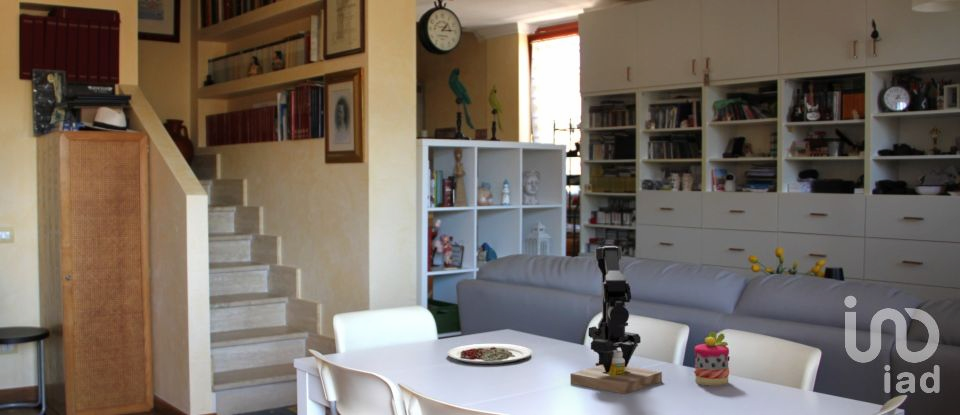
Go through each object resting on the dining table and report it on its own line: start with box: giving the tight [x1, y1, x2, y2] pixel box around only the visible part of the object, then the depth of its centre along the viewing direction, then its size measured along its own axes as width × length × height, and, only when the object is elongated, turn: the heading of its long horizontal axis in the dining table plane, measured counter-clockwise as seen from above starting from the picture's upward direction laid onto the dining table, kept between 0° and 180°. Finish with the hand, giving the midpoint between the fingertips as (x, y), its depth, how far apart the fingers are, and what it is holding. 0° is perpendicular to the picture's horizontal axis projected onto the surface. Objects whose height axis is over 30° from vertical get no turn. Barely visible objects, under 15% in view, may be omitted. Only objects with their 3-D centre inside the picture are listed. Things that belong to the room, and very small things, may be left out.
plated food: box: [447, 343, 533, 365], centre depth 310 cm, size 30×30×3 cm
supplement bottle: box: [608, 350, 625, 376], centre depth 269 cm, size 5×5×10 cm
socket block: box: [570, 364, 663, 395], centre depth 269 cm, size 20×20×3 cm
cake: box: [693, 331, 731, 387], centre depth 267 cm, size 10×11×15 cm
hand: (616, 369), depth 269 cm, fingers open, 9 cm apart
